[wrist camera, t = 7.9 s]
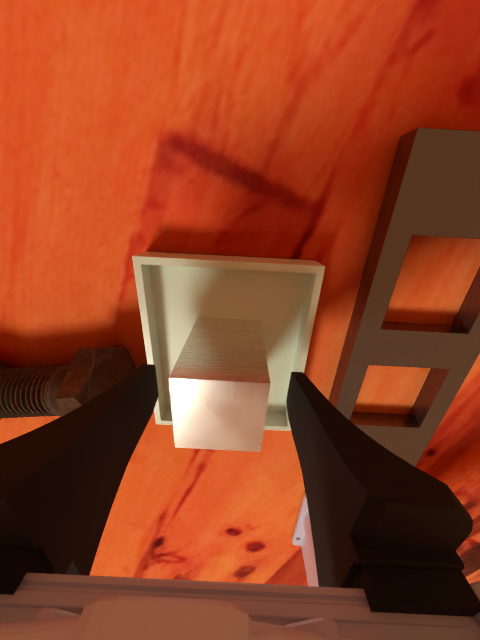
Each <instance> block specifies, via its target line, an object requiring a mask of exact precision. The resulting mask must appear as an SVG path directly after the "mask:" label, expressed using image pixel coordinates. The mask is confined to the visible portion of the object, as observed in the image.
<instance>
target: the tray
mask: <svg viewBox="0 0 480 640" xmlns="http://www.w3.org/2000/svg"><path fill="white" fill-rule="evenodd" d="M132 259H133V266H134V273H135V280H136V287H137V294H138V301H139V308H140V315H141V322H142V329H143V337H144V344H145V351H146V358H147V364H154V365H155V368H156V376H157V384H158V392H159V396H158V399H157V402H156V405H155V408H154V414H155V421H156V424H163V425H173V419H172V408H171V398H170V387H169V376H170V374H171V372H172V370H173V368H174V366H175V363H176V361H177V359H178V357H179V355H180V353H181V351H182V349H183V347H184V344H185V342H186V340H187V338H188V336H189V334H190V332H191V330H192V328H193V325H194V323H195V321H196V319H197V317H207V318H224V319H242V320H259V321H261V326H262V333H263V339H264V345H265V352H266V358H267V365H268V371H269V377H270V391H269V398H268V405H267V412H266V420H265V427H264V430H281V431H291V427H290V423H289V419H288V412H287V404H286V399H287V393H288V387H289V382H290V376H291V372H303V373H304V370H305V365H306V360H307V355H308V350H309V345H310V340H311V335H312V330H313V325H314V320H315V316H316V311H317V306H318V301H319V296H320V291H321V286H322V281H323V276H324V271H325V266H324V265H322V264H321V263H319V262H317V261H316V260H299V259H280V258H262V257H243V256H224V255H205V254H187V253H168V252H149V251H145V252H142V253H139V254H137V255H134V256H132Z"/></svg>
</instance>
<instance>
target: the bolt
mask: <svg viewBox="0 0 480 640" xmlns="http://www.w3.org/2000/svg"><path fill="white" fill-rule="evenodd" d="M135 369H136V368H135V365H134V361H133V359H132V357H131V356H130V354H129V353H128V352H127V350H126V349H125V348H124V347H110V348H93V349H78V350H77V352H76V354H75V356H74V358H73V360H72V363H70V364H67V365H54V366H39V367H23V368H8V367H7V366H6V365H5V364H4V363H3V362H1V361H0V419H1V418H13V417H14V418H17V417H36V416H37V417H38V416H64V415H66V414H68V413H69V412H71V411H73V410H75V409H77V408H79V407H80V406H82V405H84V404H85V403H87V402H89V401H90V400H92V399H93V398H95V397H97V396H98V395H100V394H101V393H103V392H104V391H106V390H107V389H109V388H110V387H112V386H113V385H115V384H116V383H117V382H119V381H120V380H122V379H123V378H124V377H126V376H127V375H129V374H130V373H131V372H133V371H134V370H135Z"/></svg>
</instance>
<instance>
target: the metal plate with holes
mask: <svg viewBox="0 0 480 640" xmlns="http://www.w3.org/2000/svg"><path fill="white" fill-rule="evenodd" d="M412 235H421V236H440V237H458V238H477V239H480V131H465V130H447V129H429V128H417V129H415V130H413V131H411V132H409V133H407V134H405V135H403V136H401V138H400V141H399V145H398V149H397V152H396V156H395V160H394V163H393V167H392V171H391V174H390V178H389V182H388V185H387V189H386V193H385V196H384V200H383V204H382V207H381V211H380V215H379V218H378V222H377V226H376V229H375V233H374V237H373V240H372V244H371V247H370V251H369V255H368V258H367V262H366V266H365V269H364V273H363V277H362V280H361V284H360V288H359V291H358V295H357V299H356V302H355V306H354V310H353V313H352V317H351V321H350V324H349V328H348V332H347V335H346V339H345V343H344V346H343V350H342V354H341V357H340V361H339V365H338V368H337V372H336V376H335V379H334V383H333V387H332V390H331V394H330V398H329V402H330V403H331V404H332V405H333V406H334V407H335V408H336V409H338V410H339V411H340V412H341V413H342V414H343V415H344V416H345V417H346V418H347V419H348V420H350V421H351V422H352V423H353V424H354V425H356V426H357V427H358V428H359V429H360V430H362V431H363V432H364V433H365V434H367V435H368V436H369V437H371V438H372V439H374V440H375V441H376V442H378V443H379V444H380V445H382V446H383V447H385V448H386V449H388V450H389V451H391V452H392V453H394V454H395V455H397V456H398V457H400V458H402V459H403V460H405V461H406V462H408V463H409V464H411V465H413V466H414V467H415V466H416V465H417V463H418V461H419V459H420V458H421V456H422V454H423V452H424V450H425V449H426V447H427V445H428V443H429V442H430V440H431V438H432V436H433V435H434V433H435V431H436V429H437V427H438V426H439V424H440V422H441V420H442V419H443V417H444V415H445V413H446V412H447V410H448V408H449V406H450V405H451V403H452V401H453V399H454V397H455V396H456V394H457V392H458V390H459V389H460V387H461V385H462V383H463V382H464V380H465V378H466V376H467V374H468V373H469V371H470V369H471V367H472V366H473V364H474V362H475V360H476V359H477V357H478V355H479V353H480V269H479V271H478V273H477V275H476V277H475V279H474V281H473V283H472V285H471V287H470V289H469V291H468V294H467V296H466V298H465V300H464V302H463V304H462V306H461V308H460V310H459V312H458V314H457V316H456V319H455V321H454V323H453V325H433V324H414V323H395V322H383V320H384V317H385V314H386V311H387V308H388V305H389V302H390V299H391V296H392V293H393V290H394V287H395V284H396V282H397V279H398V276H399V273H400V270H401V267H402V264H403V261H404V258H405V255H406V252H407V249H408V246H409V243H410V240H411V237H412ZM368 365H382V366H401V367H420V368H432V369H431V371H430V373H429V375H428V377H427V379H426V381H425V383H424V385H423V387H422V389H421V392H420V394H419V396H418V398H417V400H416V402H415V404H414V406H413V408H412V410H411V412H410V414H409V415H393V414H373V413H354V412H353V409H354V406H355V403H356V400H357V397H358V394H359V391H360V388H361V385H362V382H363V379H364V376H365V373H366V370H367V367H368Z"/></svg>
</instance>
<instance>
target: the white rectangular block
mask: <svg viewBox="0 0 480 640" xmlns="http://www.w3.org/2000/svg"><path fill="white" fill-rule="evenodd" d="M169 387H170V398H171V408H172V419H173V430H174V441H175V447H178V448H197V449H215V450H234V451H253V452H261V449H262V442H263V434H264V427H265V420H266V412H267V405H268V398H269V391H270V377H269V371H268V365H267V358H266V352H265V345H264V339H263V333H262V326H261V321H259V320H242V319H224V318H207V317H197V319H196V321H195V323H194V325H193V328H192V330H191V332H190V334H189V336H188V338H187V340H186V342H185V344H184V347H183V349H182V351H181V353H180V355H179V357H178V359H177V361H176V363H175V366H174V368H173V370H172V372H171V374H170V376H169Z"/></svg>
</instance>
